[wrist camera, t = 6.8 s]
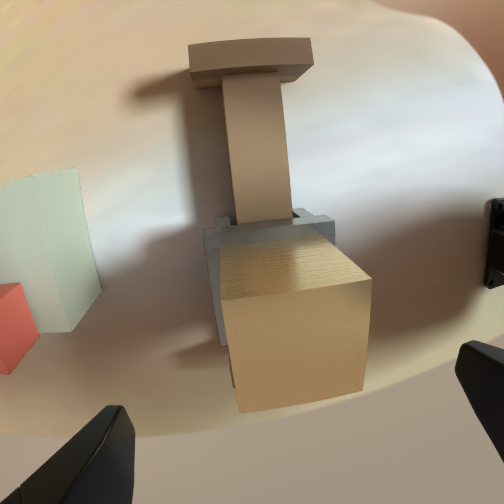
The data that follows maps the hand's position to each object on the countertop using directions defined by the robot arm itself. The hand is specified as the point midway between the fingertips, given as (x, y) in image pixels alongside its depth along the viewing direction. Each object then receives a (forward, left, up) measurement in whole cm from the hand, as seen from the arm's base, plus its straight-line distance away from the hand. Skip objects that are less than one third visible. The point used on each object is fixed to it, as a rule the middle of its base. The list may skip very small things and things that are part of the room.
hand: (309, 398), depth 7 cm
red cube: (+12, -1, -6) cm, 13 cm away
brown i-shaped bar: (0, -2, -10) cm, 11 cm away
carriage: (0, 0, -10) cm, 10 cm away
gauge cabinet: (+12, -3, -10) cm, 16 cm away
